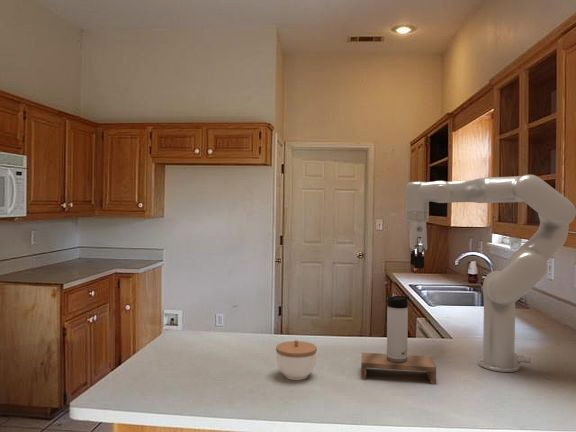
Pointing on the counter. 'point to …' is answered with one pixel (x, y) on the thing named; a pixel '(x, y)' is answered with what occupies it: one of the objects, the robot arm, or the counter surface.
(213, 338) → the counter surface
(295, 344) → the lidded bowl
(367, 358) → the riser shelf
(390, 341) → the travel mug
